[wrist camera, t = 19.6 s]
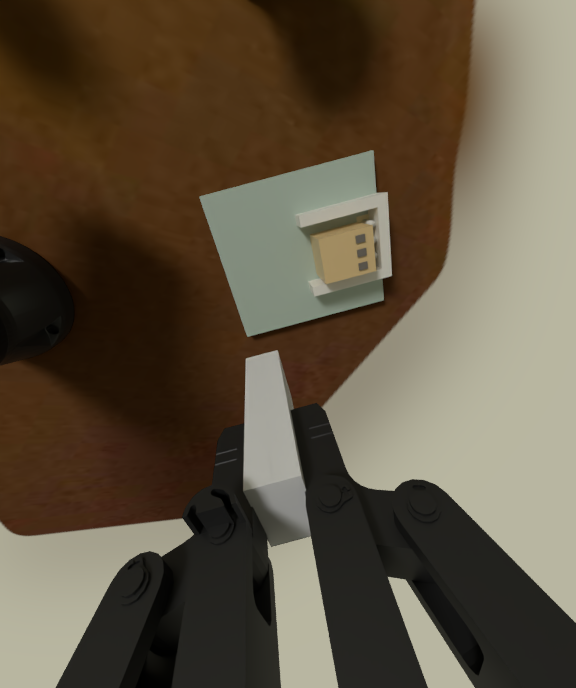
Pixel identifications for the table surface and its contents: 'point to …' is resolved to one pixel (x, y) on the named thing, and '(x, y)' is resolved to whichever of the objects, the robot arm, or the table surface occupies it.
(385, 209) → the board
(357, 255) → the plug
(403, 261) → the table surface
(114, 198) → the table surface
